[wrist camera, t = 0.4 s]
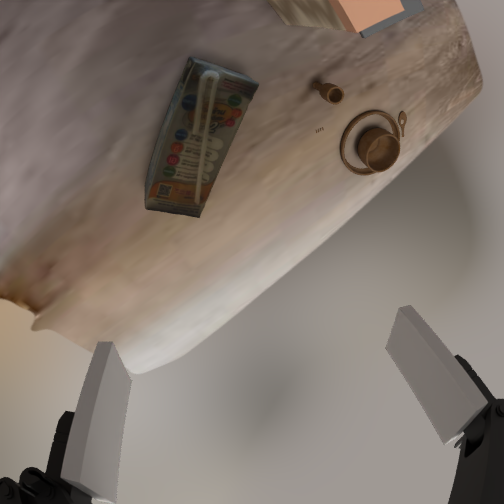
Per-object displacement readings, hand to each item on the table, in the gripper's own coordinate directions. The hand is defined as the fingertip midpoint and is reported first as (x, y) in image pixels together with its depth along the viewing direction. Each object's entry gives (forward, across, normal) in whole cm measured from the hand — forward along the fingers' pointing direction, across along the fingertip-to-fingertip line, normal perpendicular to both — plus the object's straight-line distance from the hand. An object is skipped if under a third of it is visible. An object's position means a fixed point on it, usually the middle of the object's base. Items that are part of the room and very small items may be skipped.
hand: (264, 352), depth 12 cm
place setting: (+33, +22, +10) cm, 41 cm away
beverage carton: (+29, -4, +8) cm, 31 cm away
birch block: (+24, +8, +26) cm, 37 cm away
